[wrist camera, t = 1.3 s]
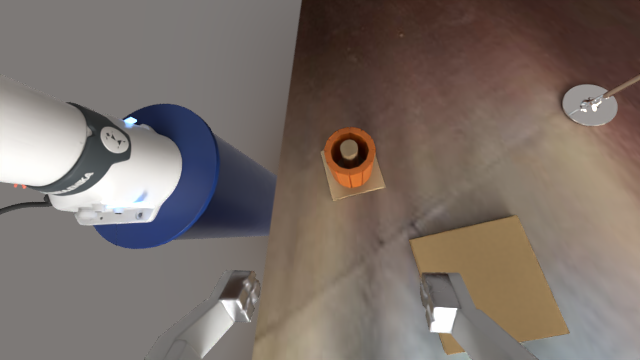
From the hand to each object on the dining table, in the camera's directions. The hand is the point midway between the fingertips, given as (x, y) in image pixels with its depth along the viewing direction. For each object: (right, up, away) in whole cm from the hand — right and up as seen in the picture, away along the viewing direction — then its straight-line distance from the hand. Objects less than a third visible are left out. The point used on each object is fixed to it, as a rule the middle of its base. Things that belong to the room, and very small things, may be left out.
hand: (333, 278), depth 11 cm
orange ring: (+4, +7, +24) cm, 25 cm away
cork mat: (+20, -8, +19) cm, 29 cm away
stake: (+4, +6, +25) cm, 26 cm away
